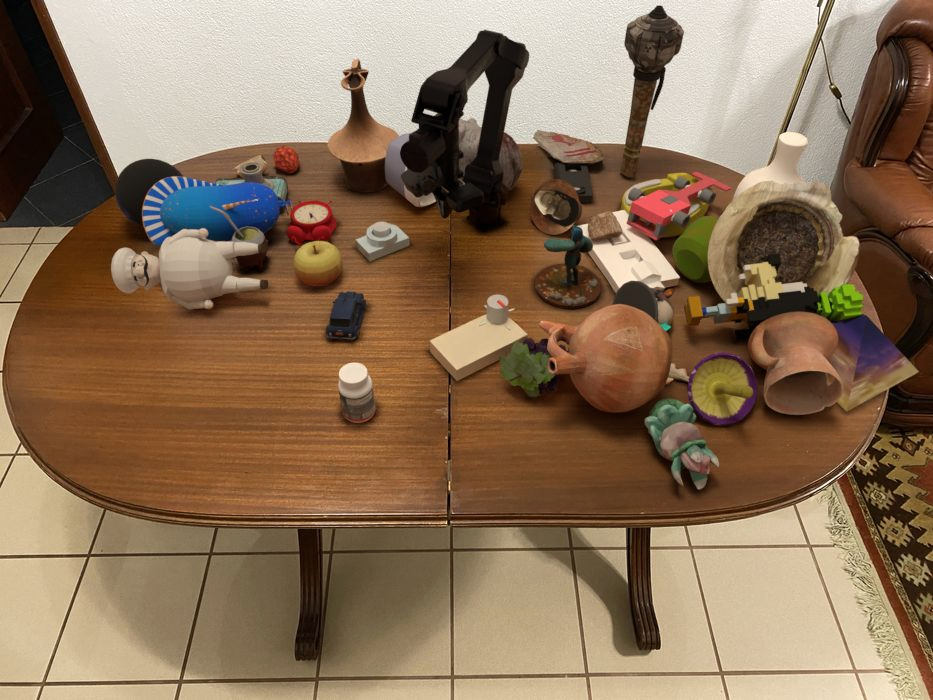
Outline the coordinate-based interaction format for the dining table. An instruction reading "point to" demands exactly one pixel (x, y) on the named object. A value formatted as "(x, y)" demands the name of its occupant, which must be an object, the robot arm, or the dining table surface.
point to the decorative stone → (286, 159)
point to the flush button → (381, 229)
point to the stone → (603, 226)
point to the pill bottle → (356, 393)
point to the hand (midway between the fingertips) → (445, 217)
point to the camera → (259, 180)
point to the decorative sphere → (140, 185)
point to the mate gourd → (250, 237)
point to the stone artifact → (568, 148)
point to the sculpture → (507, 158)
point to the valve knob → (497, 309)
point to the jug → (612, 357)
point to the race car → (669, 204)
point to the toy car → (346, 316)
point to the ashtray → (654, 185)
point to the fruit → (530, 367)
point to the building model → (631, 258)
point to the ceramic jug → (796, 362)
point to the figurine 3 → (647, 301)
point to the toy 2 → (774, 300)
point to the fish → (677, 374)
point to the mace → (647, 74)
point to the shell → (256, 159)
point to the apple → (318, 263)
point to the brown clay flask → (361, 138)
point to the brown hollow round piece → (555, 207)
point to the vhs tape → (575, 179)
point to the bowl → (397, 167)
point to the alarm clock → (311, 222)
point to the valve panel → (475, 345)
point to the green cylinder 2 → (695, 249)
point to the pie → (782, 237)
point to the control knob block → (381, 243)
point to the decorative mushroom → (722, 389)
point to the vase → (779, 164)
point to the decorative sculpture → (866, 361)
